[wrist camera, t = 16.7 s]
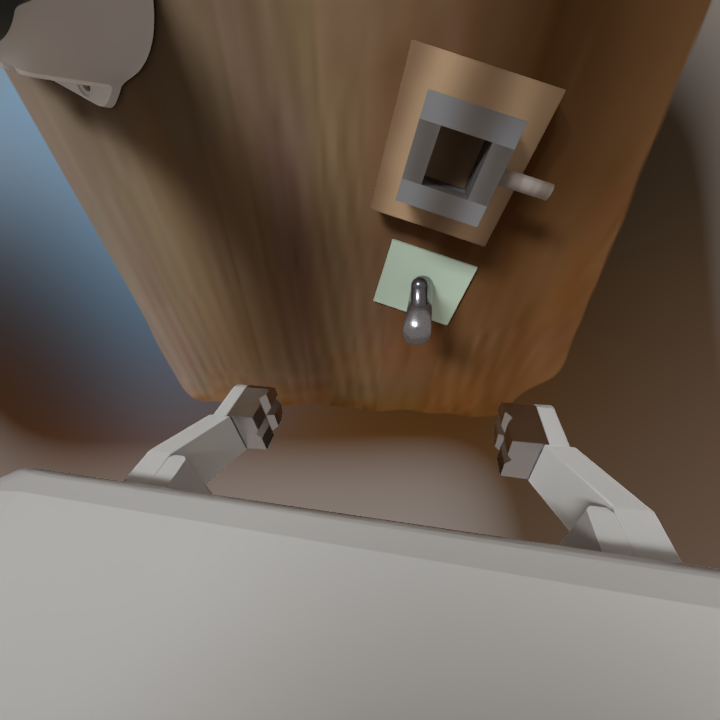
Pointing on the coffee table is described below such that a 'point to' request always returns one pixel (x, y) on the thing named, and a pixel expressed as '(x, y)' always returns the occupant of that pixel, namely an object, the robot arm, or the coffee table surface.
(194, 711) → the robot arm
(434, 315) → the mat
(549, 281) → the coffee table surface
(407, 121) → the block
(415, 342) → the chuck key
